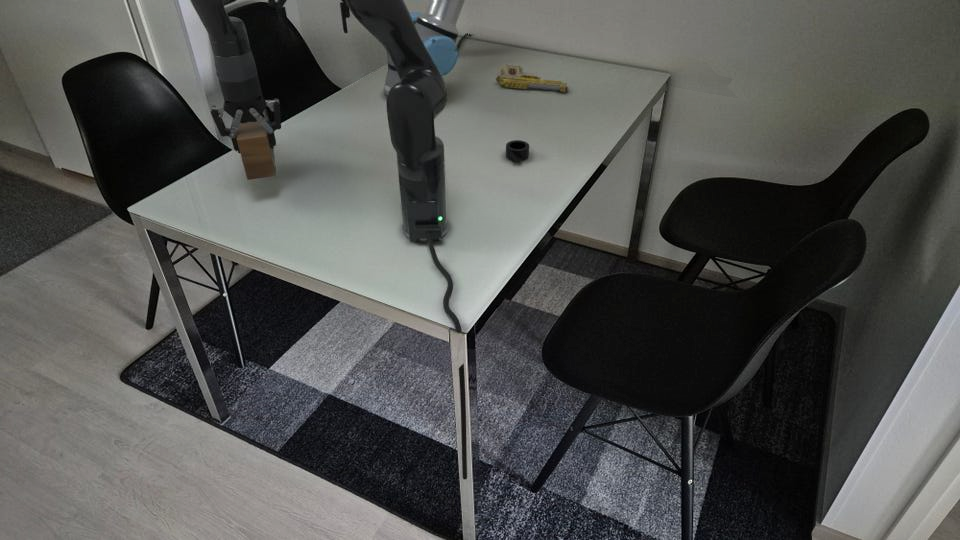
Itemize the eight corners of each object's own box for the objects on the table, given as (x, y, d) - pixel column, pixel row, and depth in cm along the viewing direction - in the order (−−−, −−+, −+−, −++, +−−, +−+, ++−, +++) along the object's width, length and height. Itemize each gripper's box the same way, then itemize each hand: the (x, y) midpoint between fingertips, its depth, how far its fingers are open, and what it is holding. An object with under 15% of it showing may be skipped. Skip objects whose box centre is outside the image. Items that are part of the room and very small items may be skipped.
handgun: (571, 77, 201) (567, 95, 190) (501, 70, 205) (493, 87, 193) (572, 69, 200) (567, 86, 188) (501, 63, 203) (493, 79, 191)
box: (276, 176, 137) (266, 135, 131) (247, 180, 136) (236, 139, 130) (272, 135, 153) (263, 97, 147) (246, 138, 152) (236, 100, 146)
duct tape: (493, 159, 157) (493, 148, 155) (515, 144, 163) (515, 134, 161) (519, 168, 153) (519, 157, 151) (540, 152, 160) (541, 142, 158)
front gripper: (273, 63, 130) (289, 137, 140) (200, 71, 127) (221, 146, 137) (275, 76, 124) (291, 152, 135) (198, 84, 121) (221, 162, 131)
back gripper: (356, -70, 146) (366, 25, 159) (243, -64, 140) (264, 34, 153) (360, -64, 140) (370, 34, 153) (244, -57, 134) (264, 43, 147)
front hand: (256, 149), depth 136 cm, fingers closed on box, 6 cm apart
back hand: (317, 34), depth 153 cm, fingers open, 13 cm apart
